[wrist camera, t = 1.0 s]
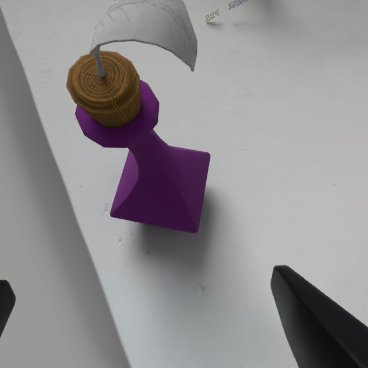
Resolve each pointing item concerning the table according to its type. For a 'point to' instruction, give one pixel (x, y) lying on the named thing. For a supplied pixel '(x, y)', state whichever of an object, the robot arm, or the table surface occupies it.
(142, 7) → the perfume bottle
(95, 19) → the table surface
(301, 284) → the robot arm
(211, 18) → the logo
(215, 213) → the table surface
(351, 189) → the table surface
